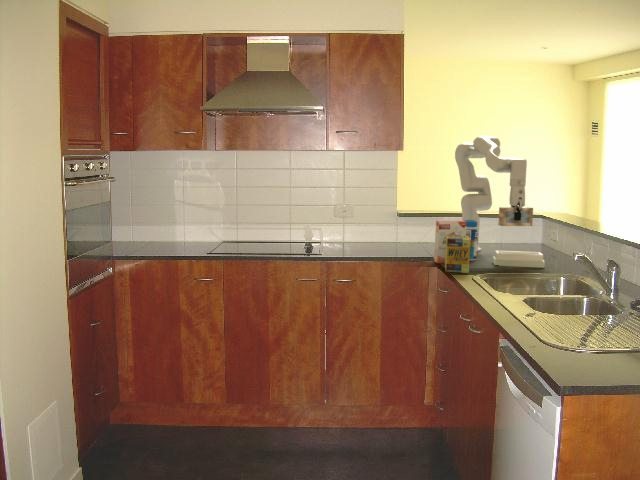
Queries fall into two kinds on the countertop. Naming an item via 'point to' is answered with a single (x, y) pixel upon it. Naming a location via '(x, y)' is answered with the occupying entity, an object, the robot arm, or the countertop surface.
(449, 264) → the protein box
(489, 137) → the robot arm
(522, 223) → the picture frame
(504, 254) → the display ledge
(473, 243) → the beverage bottle
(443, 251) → the cracker box
